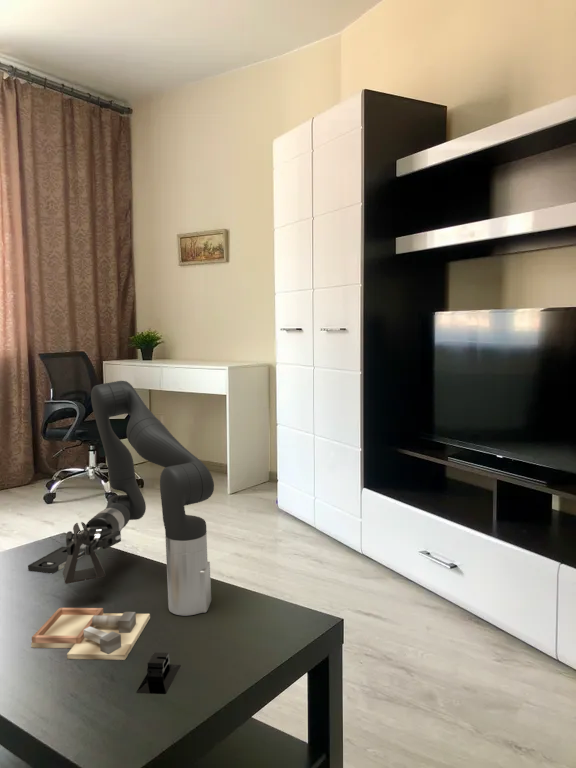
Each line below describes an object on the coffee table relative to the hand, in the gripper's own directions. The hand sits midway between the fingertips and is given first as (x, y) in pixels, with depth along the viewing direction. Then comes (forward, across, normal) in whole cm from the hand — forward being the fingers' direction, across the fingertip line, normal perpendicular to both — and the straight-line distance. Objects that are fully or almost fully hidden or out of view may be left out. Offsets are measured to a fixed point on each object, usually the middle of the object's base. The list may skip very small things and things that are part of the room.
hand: (78, 550), depth 141 cm
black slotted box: (+27, +26, +15) cm, 40 cm away
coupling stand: (+13, +7, +14) cm, 20 cm away
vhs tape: (-27, -18, +14) cm, 36 cm away
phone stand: (-3, 0, +7) cm, 8 cm away
